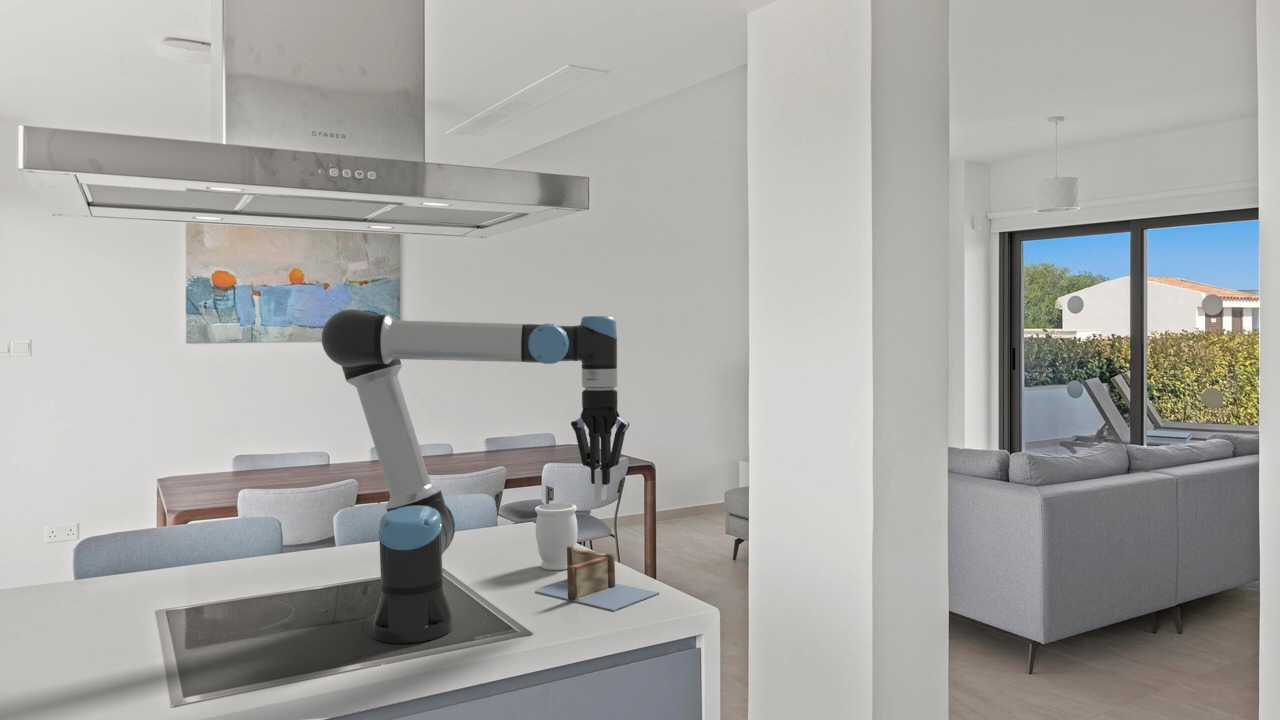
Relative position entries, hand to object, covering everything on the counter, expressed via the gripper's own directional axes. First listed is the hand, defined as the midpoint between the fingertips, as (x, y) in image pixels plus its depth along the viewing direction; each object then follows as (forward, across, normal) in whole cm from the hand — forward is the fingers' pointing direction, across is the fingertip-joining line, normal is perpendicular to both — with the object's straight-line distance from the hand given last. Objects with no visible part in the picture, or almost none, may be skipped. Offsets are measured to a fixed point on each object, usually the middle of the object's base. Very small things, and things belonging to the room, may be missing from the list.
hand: (600, 499), depth 185 cm
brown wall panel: (+22, -9, +12) cm, 27 cm away
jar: (+22, -23, +24) cm, 40 cm away
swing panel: (+21, -5, +4) cm, 22 cm away
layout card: (+22, -4, +6) cm, 23 cm away
